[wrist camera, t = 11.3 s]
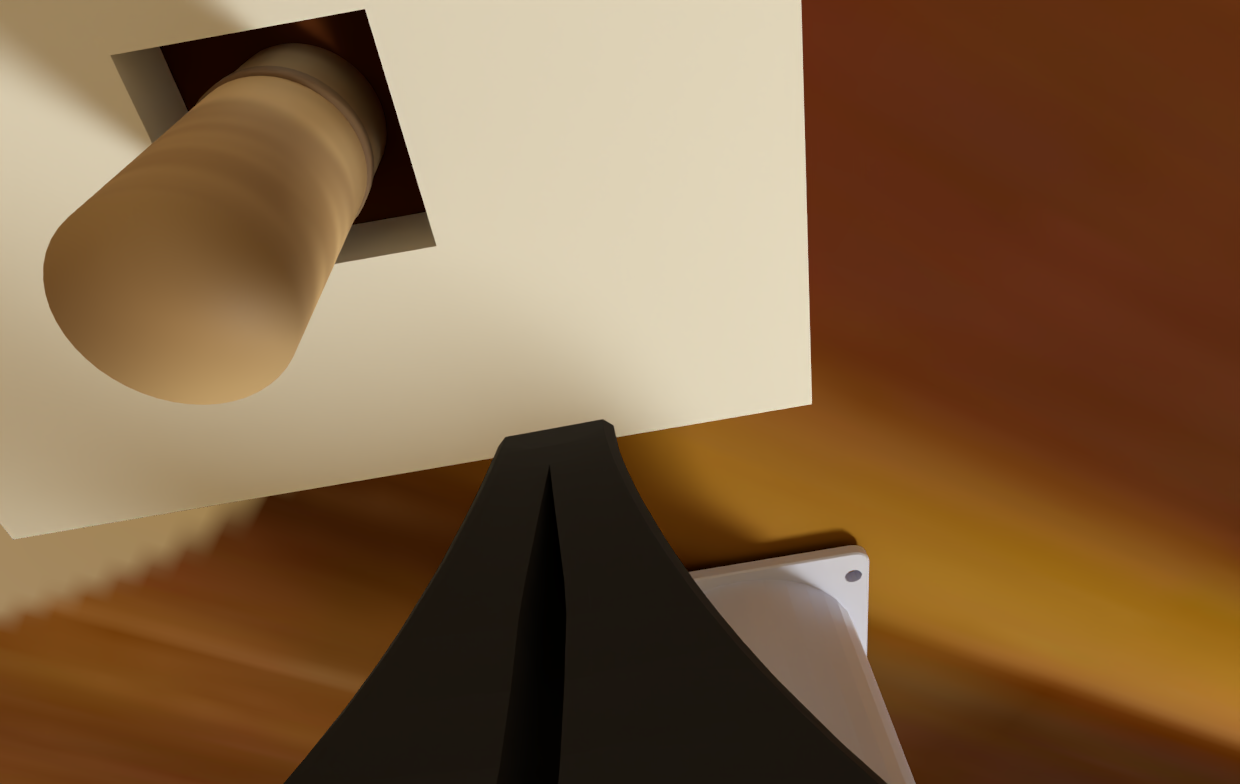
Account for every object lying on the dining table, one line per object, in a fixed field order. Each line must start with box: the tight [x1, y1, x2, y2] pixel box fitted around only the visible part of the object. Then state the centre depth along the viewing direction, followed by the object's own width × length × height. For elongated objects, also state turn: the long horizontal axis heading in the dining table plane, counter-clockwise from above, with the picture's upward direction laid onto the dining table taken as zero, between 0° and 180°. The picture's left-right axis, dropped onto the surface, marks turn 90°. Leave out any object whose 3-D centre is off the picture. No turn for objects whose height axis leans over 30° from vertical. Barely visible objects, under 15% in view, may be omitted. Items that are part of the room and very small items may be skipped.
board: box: [0, 0, 812, 539], centre depth 17 cm, size 16×20×2 cm
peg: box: [43, 43, 387, 405], centre depth 15 cm, size 3×3×8 cm
